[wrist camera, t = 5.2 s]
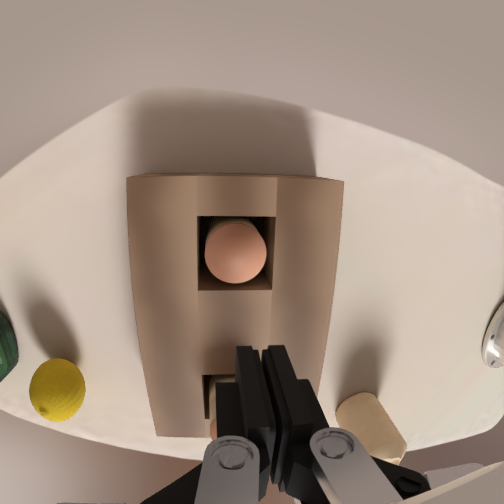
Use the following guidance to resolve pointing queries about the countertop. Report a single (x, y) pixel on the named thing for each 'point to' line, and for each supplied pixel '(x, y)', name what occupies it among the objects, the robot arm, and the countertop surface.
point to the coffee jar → (7, 348)
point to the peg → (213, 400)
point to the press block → (223, 293)
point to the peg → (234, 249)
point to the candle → (371, 427)
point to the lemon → (57, 389)
